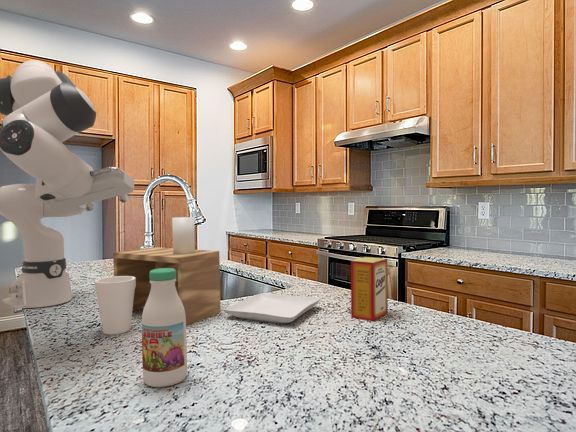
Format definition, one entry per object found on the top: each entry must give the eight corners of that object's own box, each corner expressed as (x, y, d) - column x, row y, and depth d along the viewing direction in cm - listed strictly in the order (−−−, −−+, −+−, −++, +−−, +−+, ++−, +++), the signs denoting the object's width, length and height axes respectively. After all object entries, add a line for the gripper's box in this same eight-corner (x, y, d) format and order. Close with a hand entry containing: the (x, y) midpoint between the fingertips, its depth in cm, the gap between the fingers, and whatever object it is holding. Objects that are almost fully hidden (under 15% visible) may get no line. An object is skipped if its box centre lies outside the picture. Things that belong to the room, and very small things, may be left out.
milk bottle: (149, 370, 75) (146, 266, 74) (190, 368, 75) (188, 265, 75) (137, 389, 67) (134, 274, 66) (183, 387, 68) (180, 272, 67)
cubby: (115, 313, 114) (113, 252, 113) (155, 302, 127) (153, 247, 126) (183, 327, 101) (181, 257, 100) (220, 312, 114) (219, 251, 113)
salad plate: (222, 320, 107) (222, 308, 107) (260, 302, 126) (260, 291, 126) (292, 330, 98) (292, 316, 98) (322, 309, 117) (321, 297, 117)
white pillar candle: (168, 253, 109) (167, 217, 108) (183, 251, 114) (183, 217, 113) (184, 254, 106) (183, 218, 105) (199, 252, 111) (198, 217, 110)
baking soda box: (366, 309, 114) (366, 255, 114) (387, 313, 111) (387, 257, 110) (351, 317, 107) (350, 259, 106) (373, 321, 103) (373, 261, 102)
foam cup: (121, 337, 93) (120, 283, 93) (87, 335, 95) (86, 282, 95) (144, 325, 103) (142, 276, 102) (112, 323, 104) (111, 275, 104)
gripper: (115, 154, 87) (146, 183, 99) (31, 176, 88) (72, 202, 101) (115, 178, 84) (147, 205, 96) (28, 200, 86) (70, 224, 98)
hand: (108, 204), depth 99 cm, fingers open, 8 cm apart
